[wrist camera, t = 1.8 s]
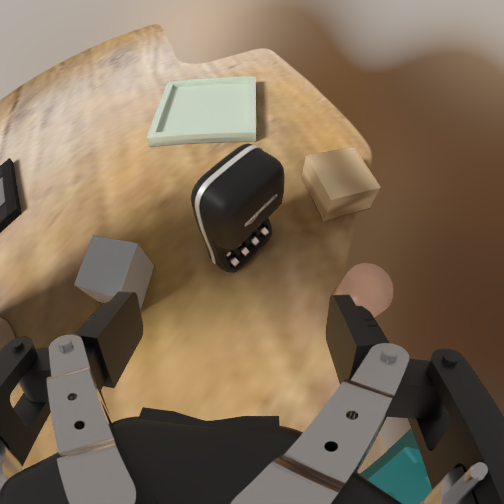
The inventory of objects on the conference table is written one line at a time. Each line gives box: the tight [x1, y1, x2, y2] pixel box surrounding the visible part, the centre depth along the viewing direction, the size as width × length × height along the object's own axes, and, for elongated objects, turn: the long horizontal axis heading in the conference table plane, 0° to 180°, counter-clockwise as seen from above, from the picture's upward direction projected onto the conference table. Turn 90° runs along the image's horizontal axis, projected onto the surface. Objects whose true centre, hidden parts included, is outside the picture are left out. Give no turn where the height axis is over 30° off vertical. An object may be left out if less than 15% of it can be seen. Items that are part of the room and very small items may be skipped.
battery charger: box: [191, 144, 284, 272], centre depth 25 cm, size 7×4×11 cm, turn 139°
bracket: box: [360, 410, 449, 504], centre depth 16 cm, size 18×7×8 cm, turn 124°
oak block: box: [302, 147, 381, 221], centre depth 31 cm, size 6×6×4 cm
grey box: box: [74, 235, 154, 312], centre depth 26 cm, size 5×5×5 cm
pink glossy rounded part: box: [332, 263, 394, 318], centre depth 25 cm, size 4×4×5 cm
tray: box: [147, 77, 256, 147], centre depth 39 cm, size 14×14×2 cm
